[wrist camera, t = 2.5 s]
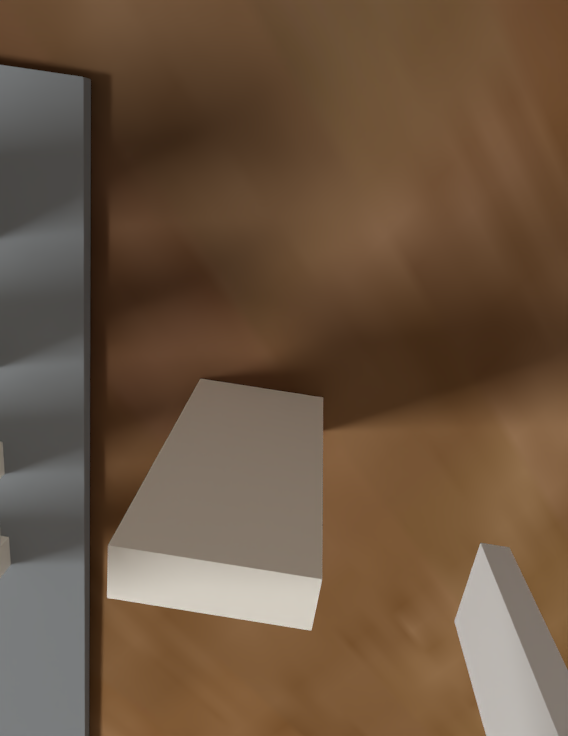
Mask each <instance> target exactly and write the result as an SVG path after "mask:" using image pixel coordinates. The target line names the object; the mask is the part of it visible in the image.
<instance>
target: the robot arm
mask: <svg viewBox="0 0 568 736" xmlns="http://www.w3.org/2000/svg"><path fill="white" fill-rule="evenodd" d="M0 547H1V536H0ZM454 622H455V625H456V629H457V632H458V636H459V640H460V643H461V647H462V650H463V654H464V658H465V661H466V665H467V668H468V672H469V676H470V679H471V683H472V686H473V690H474V694H475V697H476V701H477V704H478V708H479V712H480V715H481V719H482V722H483V726H484V730H485V733H486V736H568V670H567V668H566V666H565V664H564V662H563V659H562V657H561V655H560V653H559V651H558V649H557V647H556V645H555V643H554V640H553V638H552V636H551V634H550V632H549V630H548V628H547V626H546V624H545V622H544V619H543V617H542V615H541V613H540V611H539V609H538V607H537V605H536V603H535V600H534V598H533V596H532V594H531V592H530V590H529V588H528V586H527V584H526V581H525V579H524V577H523V575H522V573H521V571H520V569H519V567H518V565H517V563H516V560H515V558H514V556H513V554H512V552H511V550H510V548H509V547H503V546H497V545H491V544H485V543H480V546H479V549H478V552H477V555H476V558H475V561H474V564H473V567H472V570H471V573H470V576H469V579H468V582H467V585H466V588H465V591H464V594H463V597H462V600H461V603H460V606H459V609H458V612H457V615H456V618H455V621H454Z"/></svg>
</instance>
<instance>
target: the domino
mask: <svg viewBox="0 0 568 736" xmlns="http://www.w3.org/2000/svg"><path fill="white" fill-rule="evenodd" d="M322 520H323V397H317V396H311V395H304V394H298V393H291V392H285V391H278V390H272V389H265V388H259V387H252V386H246V385H239V384H233V383H226V382H220V381H213V380H207V379H200V380H199V382H198V384H197V385H196V387H195V389H194V391H193V393H192V395H191V396H190V398H189V400H188V402H187V404H186V405H185V407H184V409H183V411H182V413H181V414H180V416H179V418H178V420H177V422H176V423H175V425H174V427H173V429H172V431H171V432H170V434H169V436H168V438H167V440H166V441H165V443H164V445H163V447H162V449H161V450H160V452H159V454H158V456H157V458H156V460H155V461H154V463H153V465H152V467H151V469H150V470H149V472H148V474H147V476H146V478H145V479H144V481H143V483H142V485H141V487H140V488H139V490H138V492H137V494H136V496H135V497H134V499H133V501H132V503H131V505H130V506H129V508H128V510H127V512H126V514H125V515H124V517H123V519H122V521H121V523H120V525H119V526H118V528H117V530H116V532H115V534H114V535H113V537H112V539H111V541H110V543H109V544H108V575H107V598H111V599H118V600H124V601H130V602H136V603H143V604H149V605H155V606H161V607H168V608H174V609H180V610H186V611H192V612H199V613H205V614H211V615H217V616H224V617H230V618H236V619H242V620H249V621H255V622H261V623H267V624H273V625H280V626H286V627H292V628H298V629H305V630H312V625H313V621H314V616H315V611H316V606H317V601H318V597H319V592H320V587H321V582H322Z"/></svg>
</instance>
